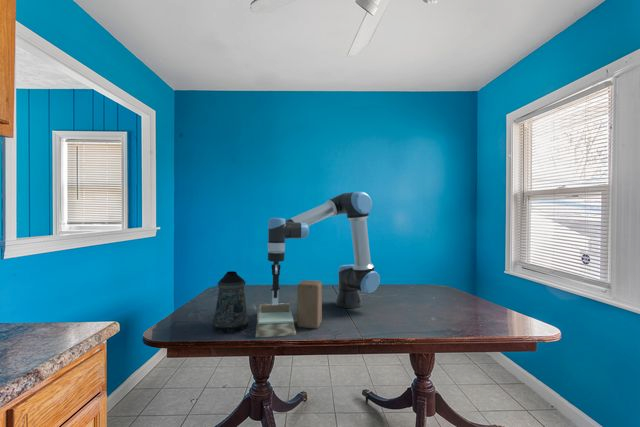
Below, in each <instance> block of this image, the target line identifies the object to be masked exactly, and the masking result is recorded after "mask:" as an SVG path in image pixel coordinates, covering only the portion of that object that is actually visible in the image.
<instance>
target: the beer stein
mask: <svg viewBox="0 0 640 427" xmlns="http://www.w3.org/2000/svg"><path fill="white" fill-rule="evenodd" d="M245 286H246V280H245V279H244V278H242V277H241V276H240V275H239V274H238V273H237V271H234V270H233V271H232V270H231V271H227V272H226V273H225V274H224V275H223V277H222V278H220V280H219V281H218V282H217V287H218V294H217V300H216V301H217V302H216V305H215V306H216V307H215V311H214V315H213V319H212V321H211V324H212V330H213V332H215V333H217V334H224V335H228V334H236V333H241V332H244V331H246V330H247V329H248V328H249V325H250V321H251V318H250V316H249V313H248V310H247V309H248V308H247V302H246V293H245Z"/></svg>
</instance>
